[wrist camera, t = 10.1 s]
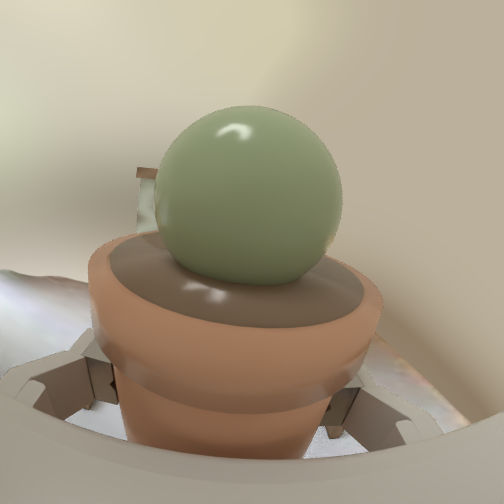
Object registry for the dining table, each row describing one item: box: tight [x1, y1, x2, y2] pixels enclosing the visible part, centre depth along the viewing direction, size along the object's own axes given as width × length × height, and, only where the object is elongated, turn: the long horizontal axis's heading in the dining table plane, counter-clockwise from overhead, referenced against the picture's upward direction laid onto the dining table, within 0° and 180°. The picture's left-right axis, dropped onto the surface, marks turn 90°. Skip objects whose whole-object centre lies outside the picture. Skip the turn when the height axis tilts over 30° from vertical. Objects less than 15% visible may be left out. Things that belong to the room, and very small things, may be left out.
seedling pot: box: [88, 106, 383, 460], centre depth 8 cm, size 7×7×16 cm
